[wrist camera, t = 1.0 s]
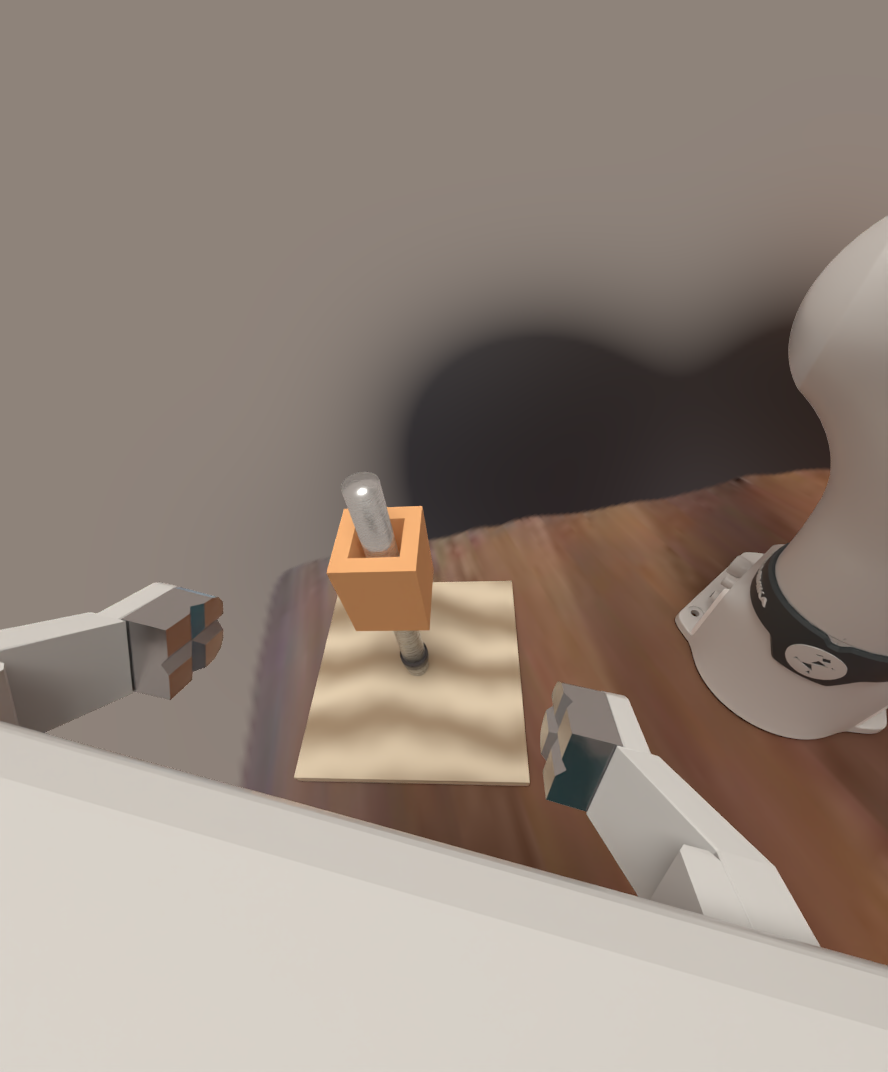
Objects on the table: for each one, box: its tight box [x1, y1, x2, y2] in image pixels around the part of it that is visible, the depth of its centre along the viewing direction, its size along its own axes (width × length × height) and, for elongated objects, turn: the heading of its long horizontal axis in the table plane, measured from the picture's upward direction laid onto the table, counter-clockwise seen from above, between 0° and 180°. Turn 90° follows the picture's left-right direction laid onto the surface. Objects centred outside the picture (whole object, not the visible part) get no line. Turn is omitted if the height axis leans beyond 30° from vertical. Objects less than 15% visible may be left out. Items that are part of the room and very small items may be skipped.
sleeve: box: [327, 506, 433, 631], centre depth 32 cm, size 6×6×8 cm
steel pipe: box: [341, 472, 429, 676], centre depth 35 cm, size 3×3×26 cm
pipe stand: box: [294, 581, 530, 786], centre depth 46 cm, size 22×22×2 cm
